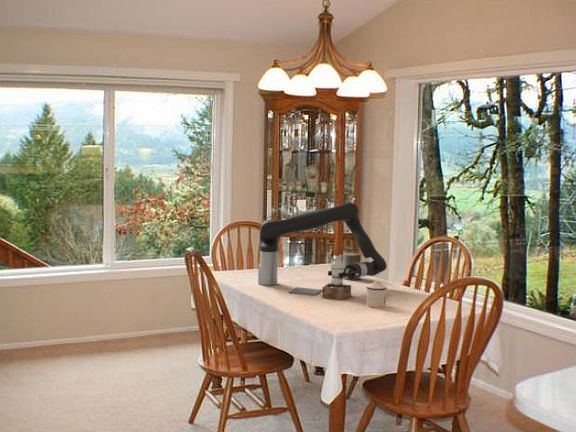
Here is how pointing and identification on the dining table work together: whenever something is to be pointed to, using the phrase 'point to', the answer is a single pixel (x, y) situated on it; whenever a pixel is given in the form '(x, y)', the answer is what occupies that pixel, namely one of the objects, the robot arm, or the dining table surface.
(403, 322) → the dining table surface
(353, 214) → the robot arm
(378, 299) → the teacup with lid
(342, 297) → the walnut sleeve
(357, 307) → the dining table surface
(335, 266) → the silver aluminum bottle
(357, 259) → the pillar candle
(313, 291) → the rubber mat
